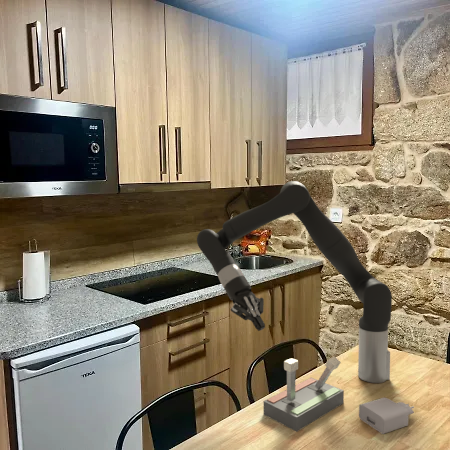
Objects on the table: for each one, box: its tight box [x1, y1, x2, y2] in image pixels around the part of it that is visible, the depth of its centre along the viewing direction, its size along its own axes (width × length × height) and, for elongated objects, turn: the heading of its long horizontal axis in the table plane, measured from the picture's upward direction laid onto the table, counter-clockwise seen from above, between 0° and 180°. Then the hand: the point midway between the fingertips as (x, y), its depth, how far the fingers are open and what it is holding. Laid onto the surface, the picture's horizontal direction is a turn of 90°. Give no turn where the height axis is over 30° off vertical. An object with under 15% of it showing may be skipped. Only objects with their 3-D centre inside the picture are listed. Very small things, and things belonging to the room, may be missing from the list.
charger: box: [358, 397, 415, 435], centre depth 121 cm, size 5×9×15 cm
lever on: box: [315, 356, 341, 389], centre depth 129 cm, size 2×3×11 cm
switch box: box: [263, 377, 345, 432], centre depth 128 cm, size 12×22×4 cm, turn 132°
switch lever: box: [283, 358, 299, 401], centre depth 123 cm, size 2×3×11 cm
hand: (262, 329), depth 131 cm, fingers closed
